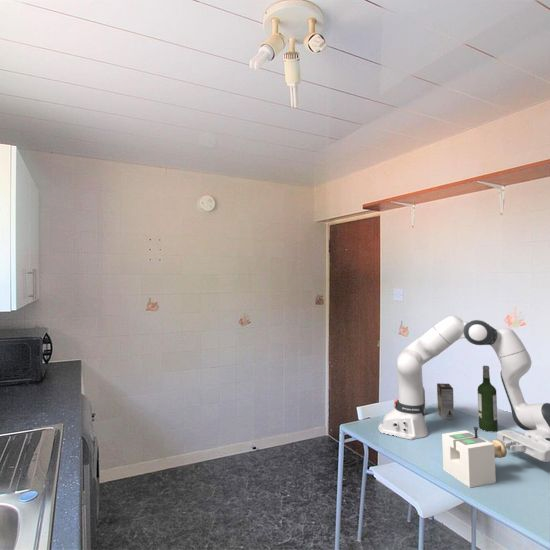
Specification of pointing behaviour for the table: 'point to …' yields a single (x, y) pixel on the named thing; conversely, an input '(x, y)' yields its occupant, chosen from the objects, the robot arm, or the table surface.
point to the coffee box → (445, 401)
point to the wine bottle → (487, 403)
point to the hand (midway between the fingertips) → (508, 447)
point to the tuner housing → (469, 458)
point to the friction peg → (496, 446)
